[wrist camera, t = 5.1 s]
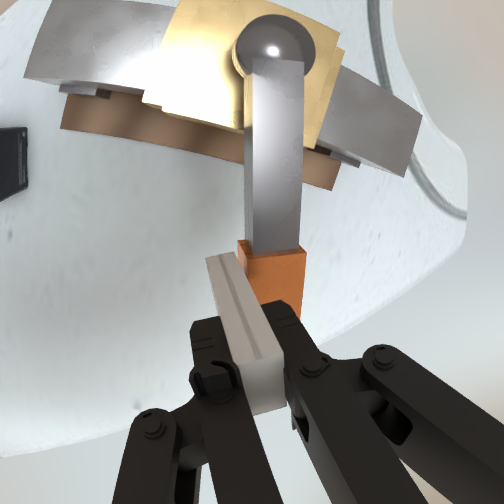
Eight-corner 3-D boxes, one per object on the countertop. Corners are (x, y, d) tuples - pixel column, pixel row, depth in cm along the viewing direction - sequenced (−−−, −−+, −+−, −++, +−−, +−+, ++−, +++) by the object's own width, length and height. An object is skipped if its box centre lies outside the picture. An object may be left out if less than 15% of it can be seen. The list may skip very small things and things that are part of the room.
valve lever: (230, 24, 9) (240, 8, 8) (298, 30, 10) (317, 18, 8) (236, 328, 16) (244, 352, 14) (288, 319, 17) (300, 342, 15)
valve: (71, 100, 19) (-10, 92, 8) (96, 26, 16) (41, -34, 5) (335, 166, 27) (428, 203, 16) (356, 101, 25) (457, 107, 14)
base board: (65, 127, 21) (60, 128, 19) (105, 8, 16) (101, 2, 15) (324, 187, 29) (331, 191, 28) (358, 83, 25) (366, 82, 24)
